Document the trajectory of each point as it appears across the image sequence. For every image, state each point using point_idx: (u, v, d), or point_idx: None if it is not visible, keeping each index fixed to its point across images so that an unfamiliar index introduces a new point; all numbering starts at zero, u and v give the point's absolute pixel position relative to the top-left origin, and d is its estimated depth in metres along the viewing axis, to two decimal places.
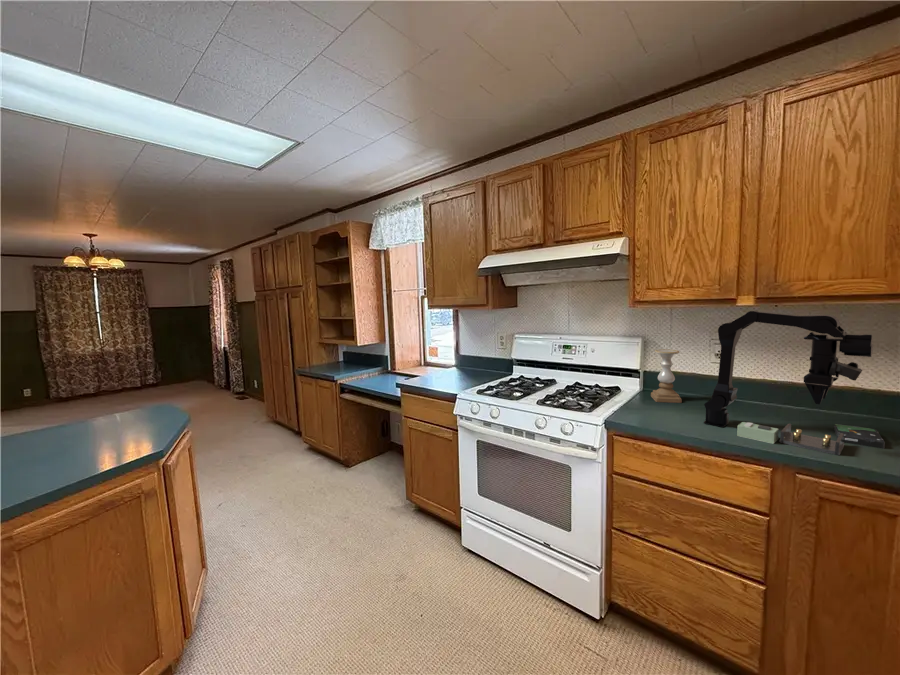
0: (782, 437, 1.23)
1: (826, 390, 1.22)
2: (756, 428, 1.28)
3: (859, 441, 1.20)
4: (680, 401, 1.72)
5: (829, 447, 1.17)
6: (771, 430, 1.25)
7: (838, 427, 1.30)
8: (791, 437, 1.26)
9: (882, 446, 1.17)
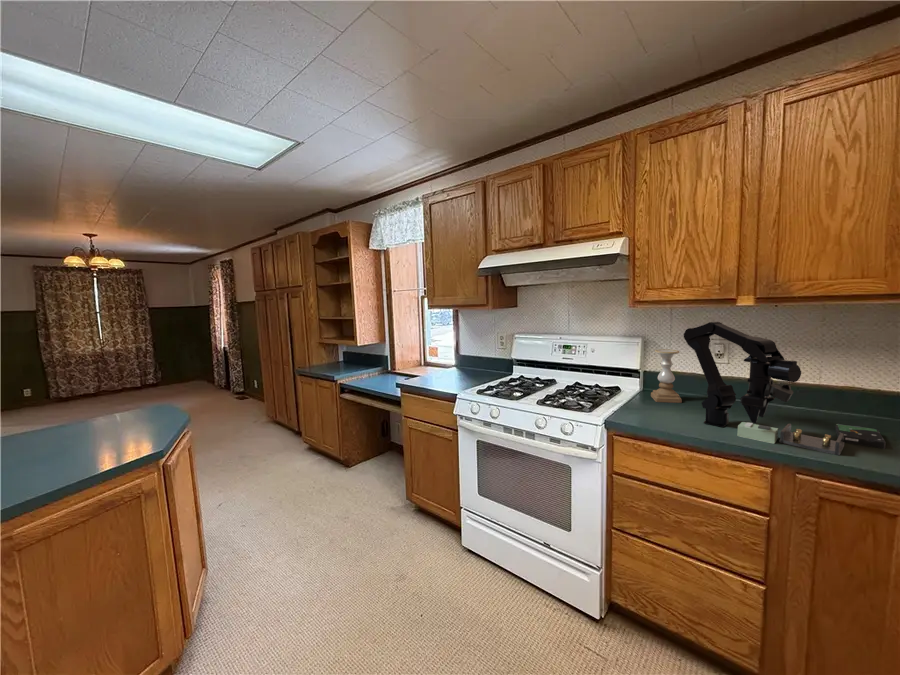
0: (782, 437, 1.23)
1: (764, 409, 1.31)
2: (756, 428, 1.28)
3: (859, 441, 1.20)
4: (680, 401, 1.72)
5: (829, 447, 1.17)
6: (771, 430, 1.26)
7: (839, 427, 1.30)
8: (791, 437, 1.26)
9: (883, 446, 1.17)
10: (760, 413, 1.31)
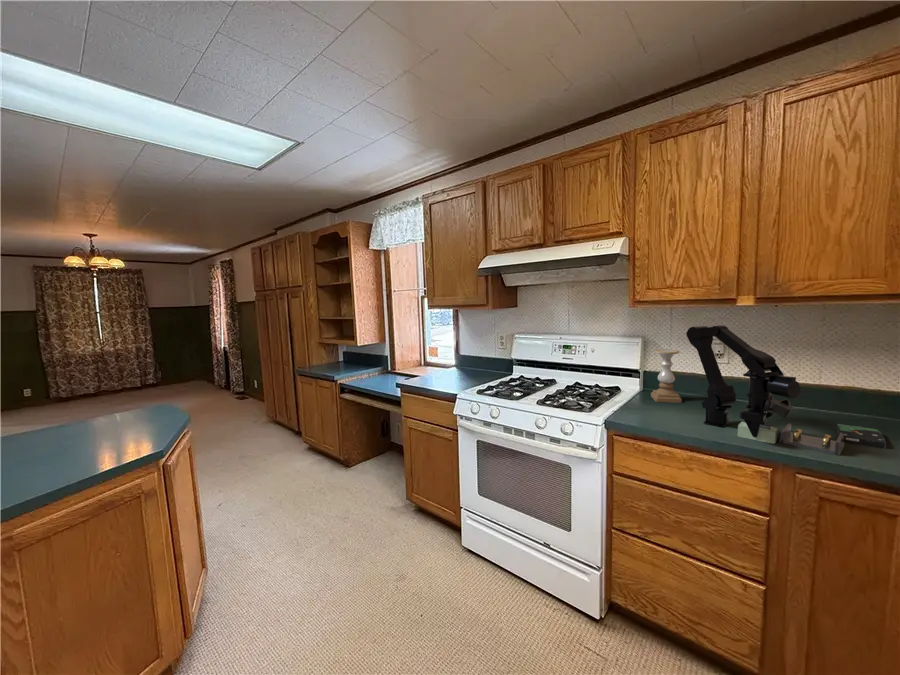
0: (782, 437, 1.23)
1: None
2: None
3: (860, 441, 1.20)
4: (680, 401, 1.72)
5: (829, 447, 1.17)
6: (771, 429, 1.26)
7: (841, 427, 1.30)
8: (791, 437, 1.26)
9: (883, 446, 1.17)
10: None
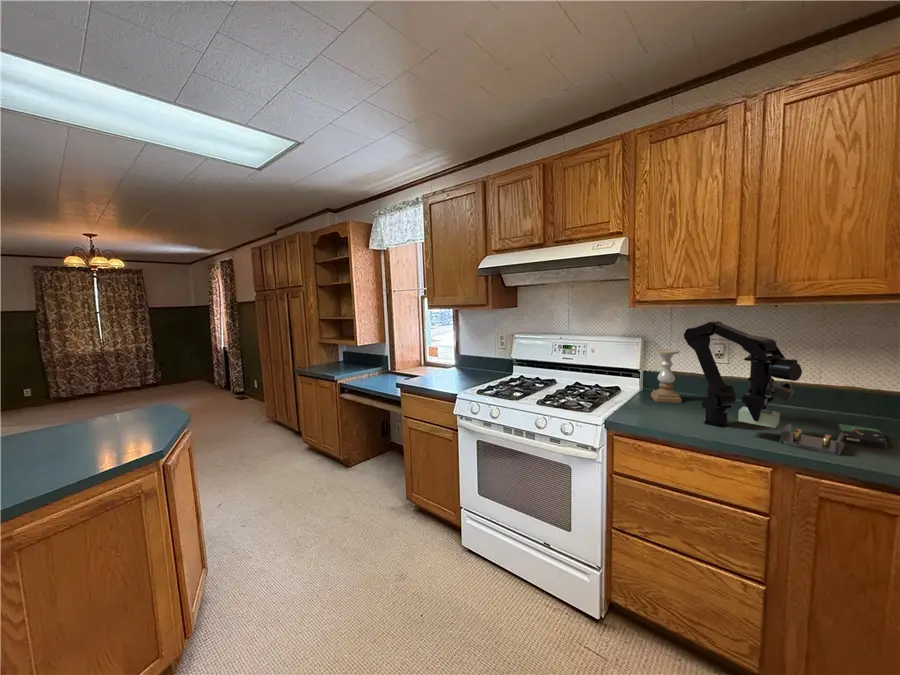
0: (782, 437, 1.23)
1: (764, 409, 1.29)
2: None
3: (861, 441, 1.20)
4: (680, 401, 1.72)
5: (829, 447, 1.17)
6: (773, 414, 1.25)
7: (842, 427, 1.30)
8: (791, 437, 1.26)
9: (884, 446, 1.17)
10: None
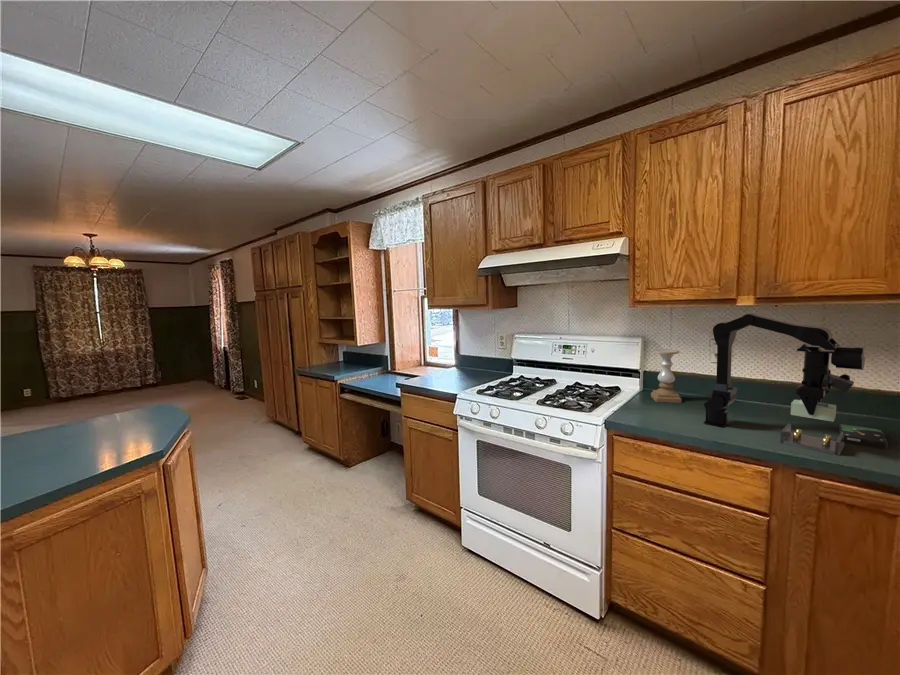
0: (782, 437, 1.23)
1: None
2: None
3: (861, 441, 1.20)
4: (680, 401, 1.72)
5: (829, 447, 1.17)
6: (830, 406, 1.17)
7: (843, 427, 1.30)
8: (791, 437, 1.26)
9: (885, 446, 1.17)
10: None
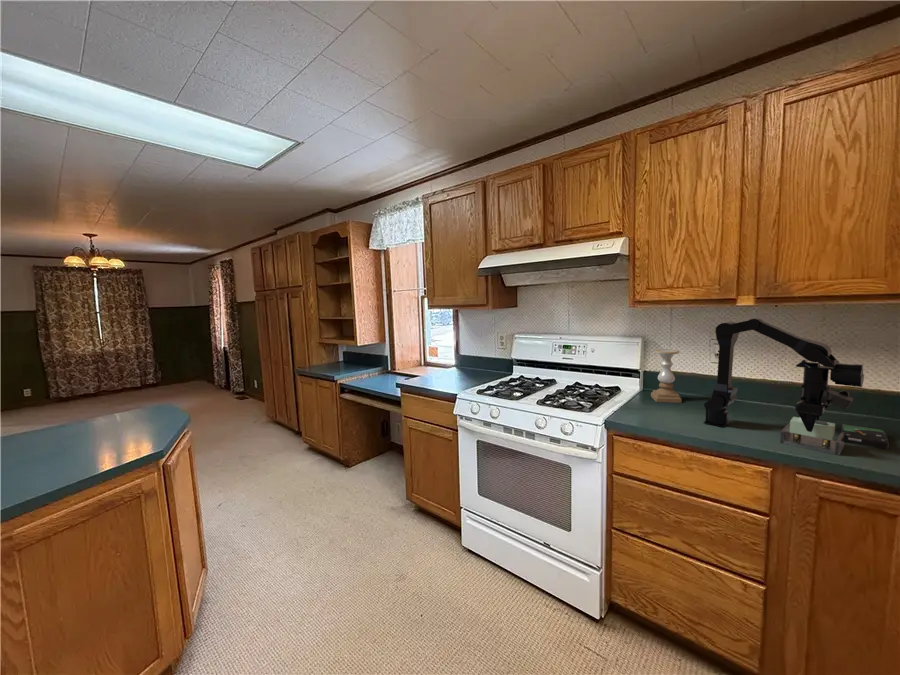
0: (782, 437, 1.23)
1: (818, 417, 1.23)
2: None
3: (862, 441, 1.20)
4: (680, 401, 1.72)
5: (829, 447, 1.17)
6: (828, 425, 1.18)
7: (845, 427, 1.30)
8: (791, 437, 1.26)
9: (886, 446, 1.16)
10: None
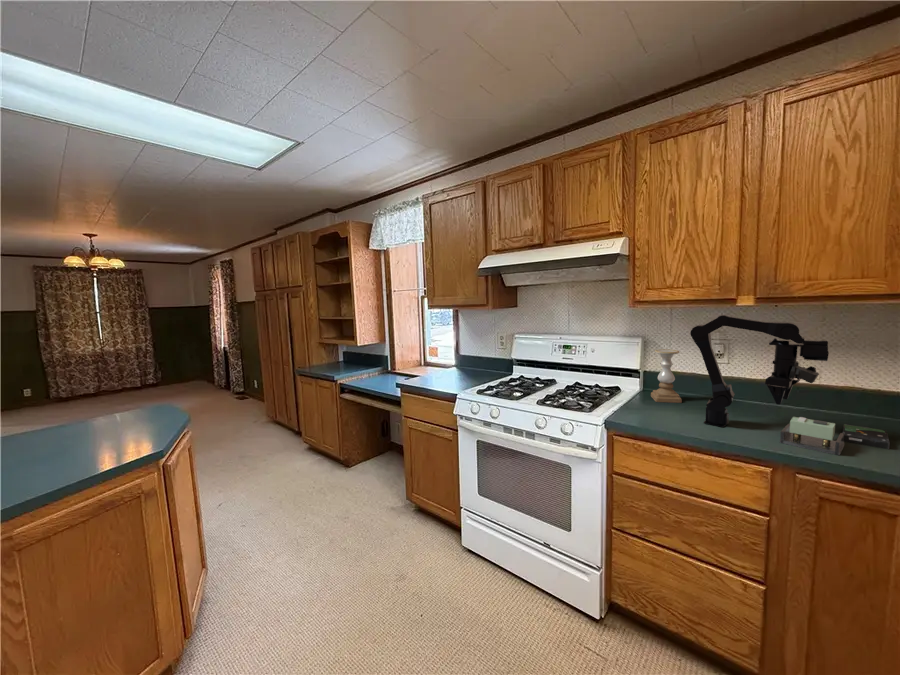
0: (782, 437, 1.23)
1: (788, 391, 1.32)
2: (811, 423, 1.20)
3: (863, 441, 1.20)
4: (680, 401, 1.72)
5: (829, 447, 1.17)
6: (828, 425, 1.18)
7: (846, 427, 1.30)
8: (791, 437, 1.26)
9: (887, 446, 1.16)
10: (784, 395, 1.33)
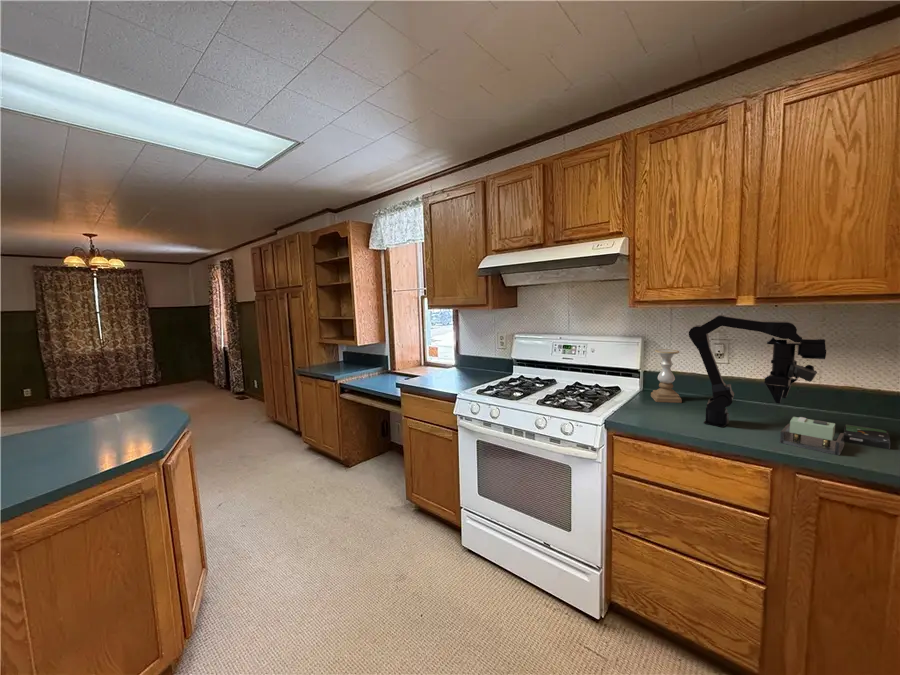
0: (782, 437, 1.23)
1: (787, 390, 1.33)
2: (811, 423, 1.20)
3: (864, 441, 1.20)
4: (680, 401, 1.72)
5: (829, 447, 1.17)
6: (828, 425, 1.18)
7: (847, 427, 1.29)
8: (791, 437, 1.26)
9: (888, 446, 1.16)
10: (783, 394, 1.34)
